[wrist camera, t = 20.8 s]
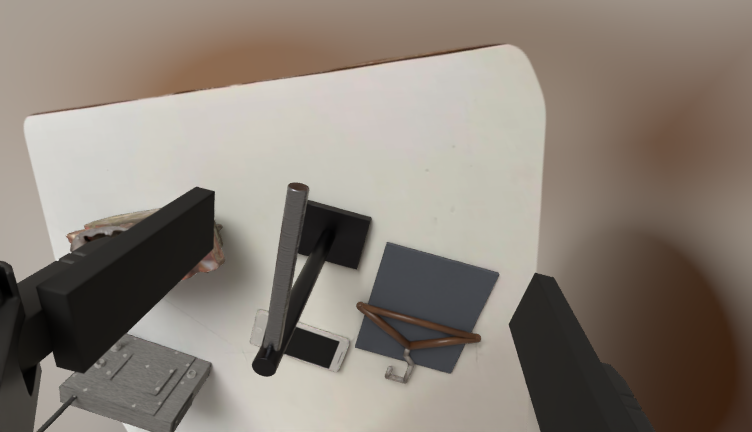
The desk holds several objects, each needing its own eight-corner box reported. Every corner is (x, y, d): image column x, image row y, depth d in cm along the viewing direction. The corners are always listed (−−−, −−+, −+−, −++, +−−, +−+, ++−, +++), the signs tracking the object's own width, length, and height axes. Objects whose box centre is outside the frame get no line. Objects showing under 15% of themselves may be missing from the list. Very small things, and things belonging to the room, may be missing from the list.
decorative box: (94, 177, 51) (26, 204, 42) (227, 169, 48) (184, 196, 39) (129, 258, 56) (75, 297, 47) (250, 255, 53) (217, 295, 45)
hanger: (482, 339, 53) (452, 398, 59) (481, 333, 54) (451, 392, 60) (356, 304, 53) (338, 367, 59) (357, 299, 54) (339, 361, 60)
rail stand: (358, 265, 52) (315, 415, 31) (291, 246, 52) (201, 384, 31) (393, 134, 44) (369, 217, 22) (314, 112, 43) (212, 174, 22)
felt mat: (498, 272, 50) (499, 274, 49) (450, 370, 59) (450, 373, 58) (387, 241, 50) (386, 243, 49) (355, 344, 59) (354, 347, 58)
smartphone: (258, 308, 57) (256, 312, 56) (350, 339, 58) (349, 343, 57) (251, 339, 60) (248, 343, 60) (338, 368, 61) (337, 373, 60)
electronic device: (117, 346, 65) (1, 460, 47) (118, 319, 62) (-5, 430, 44) (210, 377, 66) (131, 501, 48) (215, 352, 63) (133, 474, 45)
